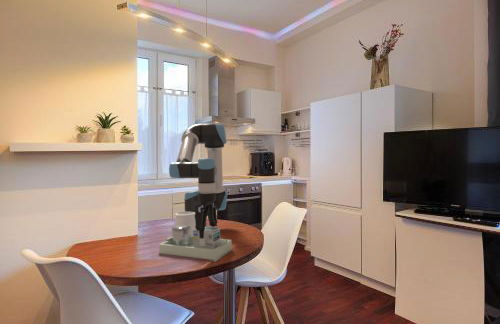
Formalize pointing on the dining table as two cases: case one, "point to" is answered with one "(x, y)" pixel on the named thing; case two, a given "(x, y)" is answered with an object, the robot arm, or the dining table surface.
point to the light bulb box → (207, 238)
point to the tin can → (181, 236)
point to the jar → (186, 220)
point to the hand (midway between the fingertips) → (207, 242)
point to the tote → (196, 250)
